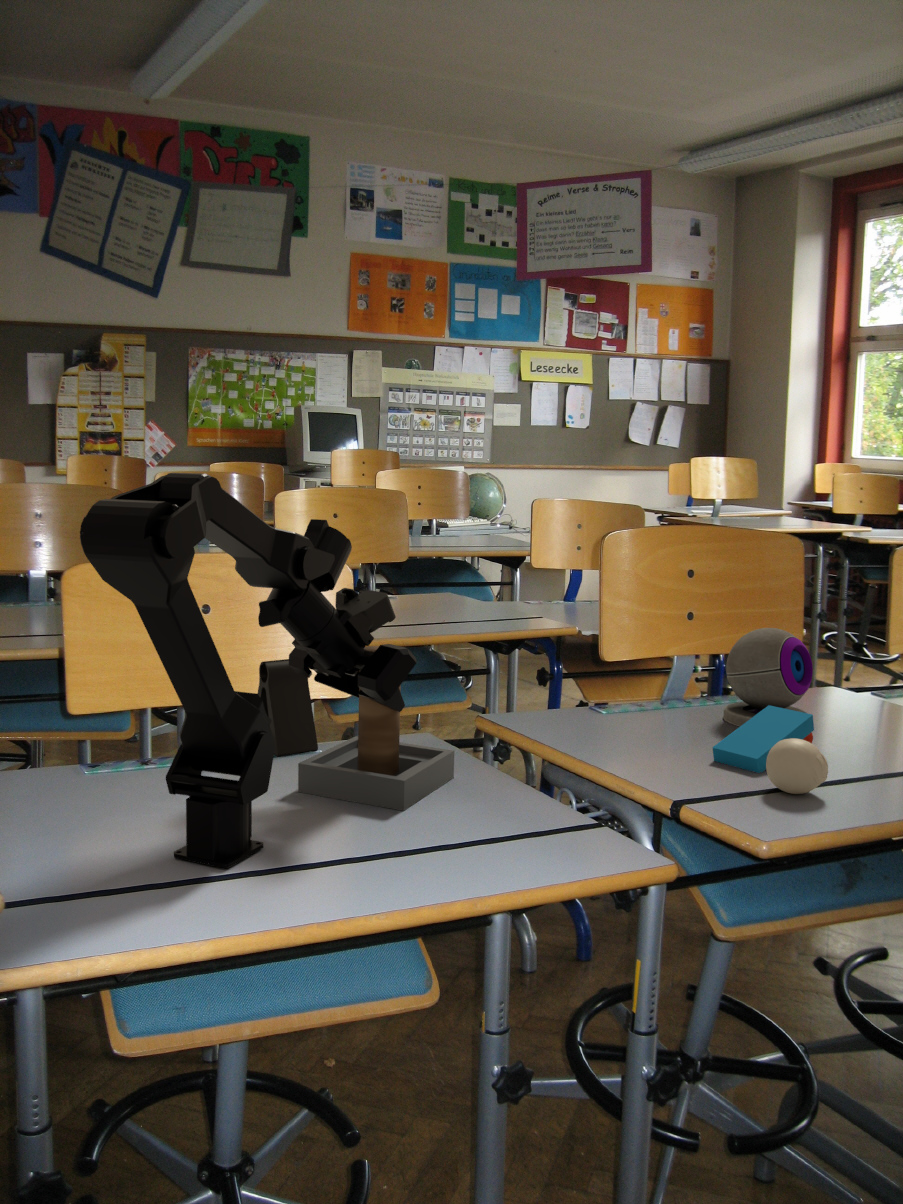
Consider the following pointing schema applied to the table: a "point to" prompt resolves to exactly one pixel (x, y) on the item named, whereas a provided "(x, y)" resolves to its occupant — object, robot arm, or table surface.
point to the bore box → (376, 775)
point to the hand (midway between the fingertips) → (388, 704)
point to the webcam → (766, 673)
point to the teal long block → (762, 737)
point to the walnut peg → (378, 735)
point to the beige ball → (796, 766)
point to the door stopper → (287, 707)
